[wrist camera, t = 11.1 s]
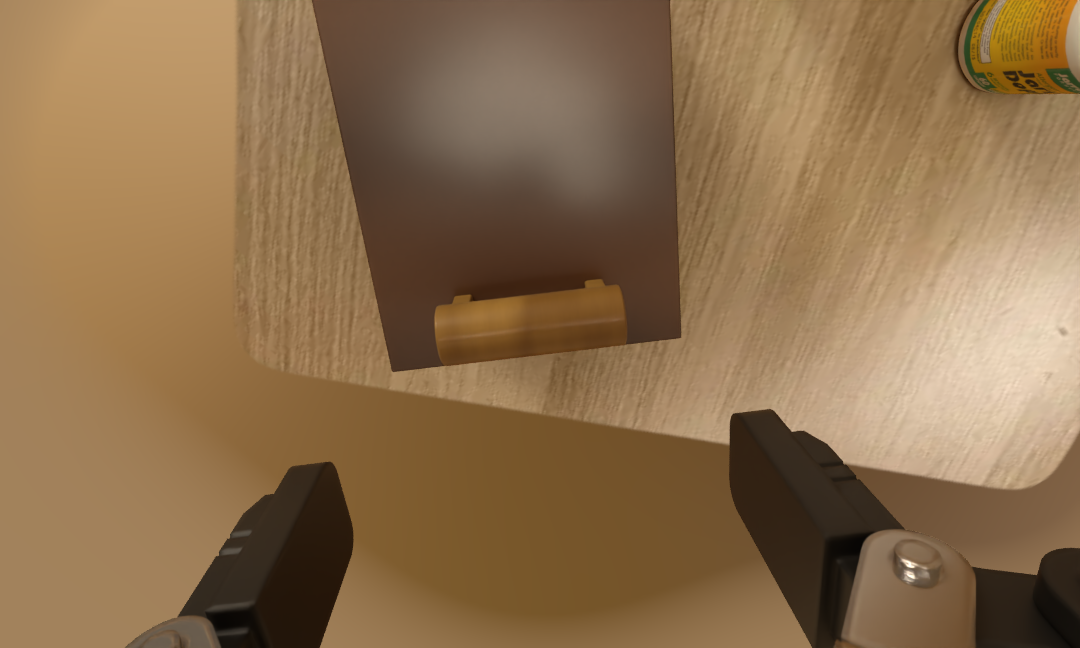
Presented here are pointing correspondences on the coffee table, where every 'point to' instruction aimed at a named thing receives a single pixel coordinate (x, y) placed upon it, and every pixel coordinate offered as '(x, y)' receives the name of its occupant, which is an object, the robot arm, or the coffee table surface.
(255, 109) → the coffee table surface
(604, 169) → the lid
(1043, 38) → the supplement bottle
